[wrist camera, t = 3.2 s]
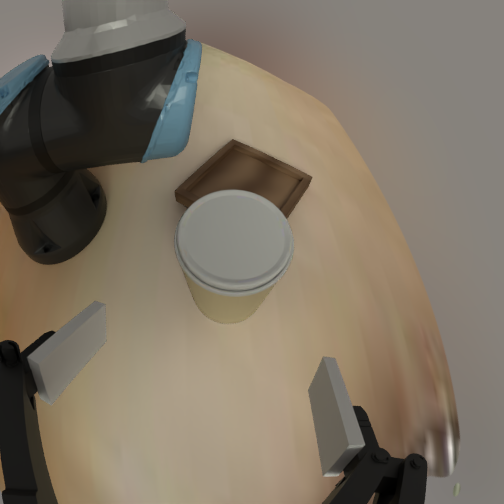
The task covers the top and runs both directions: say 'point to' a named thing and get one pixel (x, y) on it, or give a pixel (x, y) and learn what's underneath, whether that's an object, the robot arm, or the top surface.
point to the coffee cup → (232, 252)
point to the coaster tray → (246, 177)
